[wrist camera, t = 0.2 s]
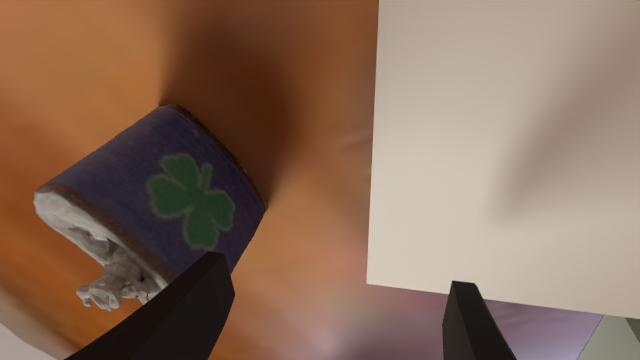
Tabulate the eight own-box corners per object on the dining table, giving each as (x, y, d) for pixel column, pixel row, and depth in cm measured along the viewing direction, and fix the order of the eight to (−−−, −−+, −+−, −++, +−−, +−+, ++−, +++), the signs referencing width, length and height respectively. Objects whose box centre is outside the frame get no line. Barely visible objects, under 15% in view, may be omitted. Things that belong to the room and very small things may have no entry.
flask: (148, 115, 22) (-28, 234, 13) (179, 90, 20) (7, 203, 12) (247, 223, 25) (160, 377, 16) (279, 208, 24) (204, 366, 15)
